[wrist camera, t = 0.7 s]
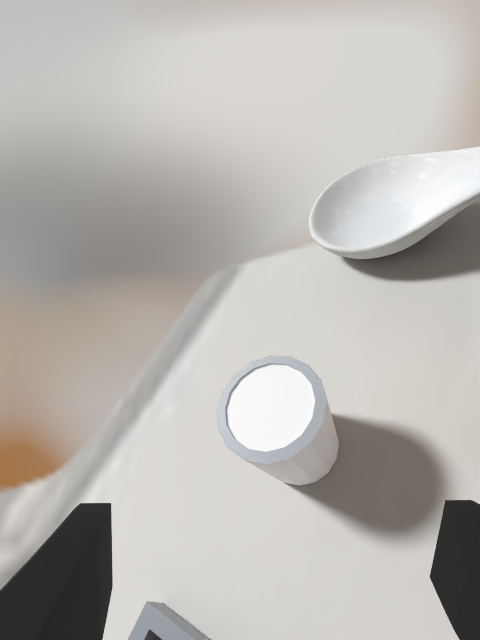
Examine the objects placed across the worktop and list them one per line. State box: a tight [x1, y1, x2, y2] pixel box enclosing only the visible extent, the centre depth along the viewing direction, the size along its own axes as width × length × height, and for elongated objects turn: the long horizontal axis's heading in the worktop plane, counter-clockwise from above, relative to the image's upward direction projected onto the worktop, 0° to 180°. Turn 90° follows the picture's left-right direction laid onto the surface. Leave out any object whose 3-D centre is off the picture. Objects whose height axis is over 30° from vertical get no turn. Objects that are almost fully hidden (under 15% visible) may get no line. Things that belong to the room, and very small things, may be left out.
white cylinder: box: [217, 356, 339, 486], centre depth 27 cm, size 7×7×7 cm
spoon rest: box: [309, 147, 480, 259], centre depth 33 cm, size 24×12×7 cm, turn 70°
